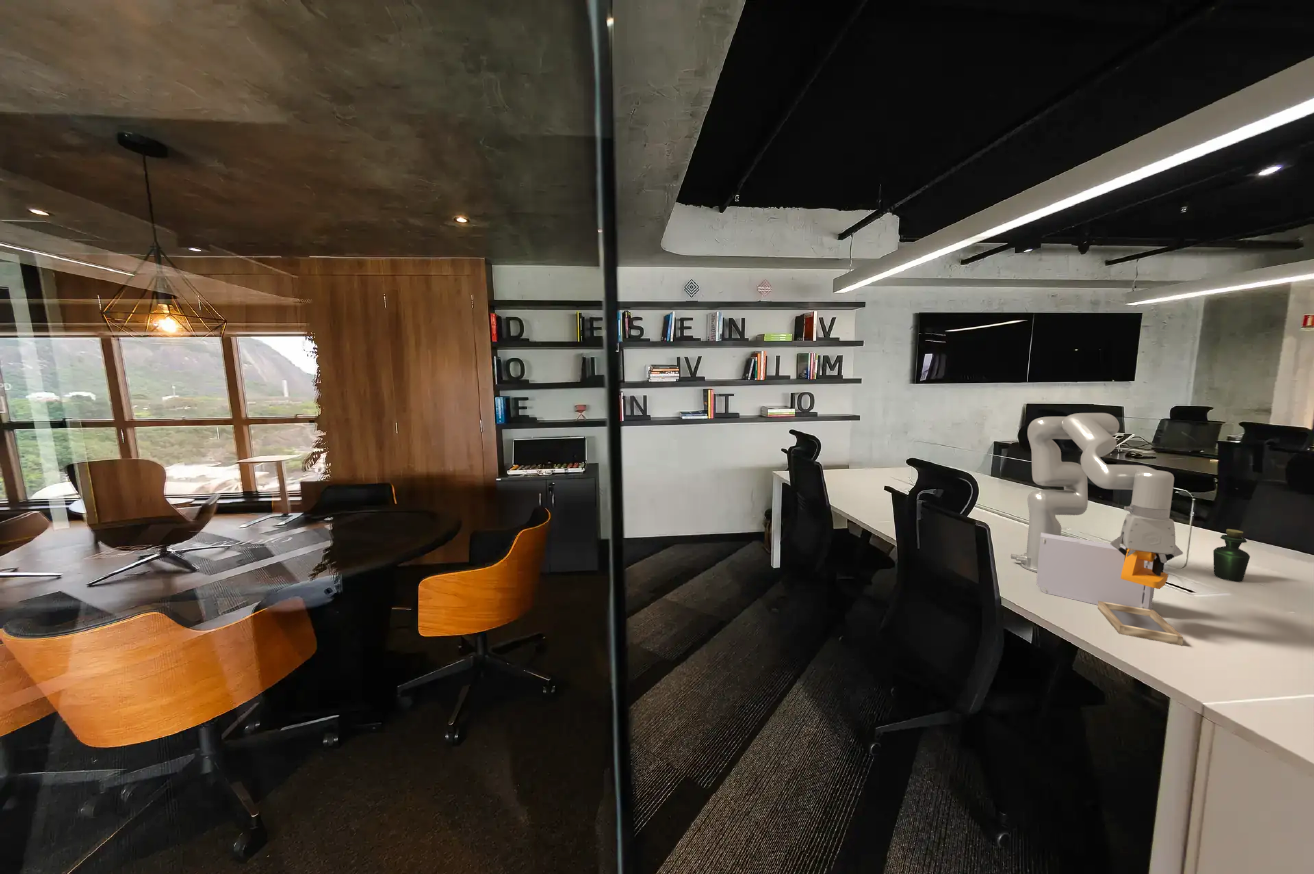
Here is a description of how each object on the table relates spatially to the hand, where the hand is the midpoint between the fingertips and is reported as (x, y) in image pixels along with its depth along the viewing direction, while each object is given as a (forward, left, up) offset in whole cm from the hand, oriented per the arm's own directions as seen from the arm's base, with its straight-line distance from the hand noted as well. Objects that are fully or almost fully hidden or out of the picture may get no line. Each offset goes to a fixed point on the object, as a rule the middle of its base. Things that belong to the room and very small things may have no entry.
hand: (1142, 571), depth 128 cm
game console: (-7, +14, -17) cm, 23 cm away
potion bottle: (+43, +60, -17) cm, 76 cm away
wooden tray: (0, 0, -17) cm, 17 cm away
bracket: (+1, 0, -3) cm, 3 cm away
